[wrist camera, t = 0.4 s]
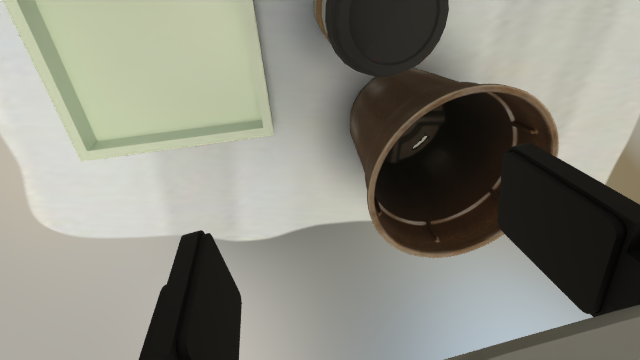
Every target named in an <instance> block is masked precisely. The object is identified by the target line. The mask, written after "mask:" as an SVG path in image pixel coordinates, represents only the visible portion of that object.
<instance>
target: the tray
mask: <svg viewBox="0 0 640 360" xmlns="http://www.w3.org/2000/svg"><path fill="white" fill-rule="evenodd" d="M3 2H4V4H5V6H6V8H7V10H8V12H9V14H10V16H11V18H12V20H13V22H14V24H15V26H16V29H17V31H18V33H19V35H20V37H21V39H22V41H23V43H24V45H25V47H26V49H27V51H28V53H29V55H30V57H31V59H32V62H33V64H34V66H35V68H36V70H37V72H38V74H39V76H40V78H41V80H42V82H43V84H44V86H45V88H46V90H47V92H48V94H49V97H50V99H51V101H52V103H53V105H54V107H55V109H56V111H57V113H58V115H59V117H60V119H61V121H62V123H63V125H64V127H65V129H66V132H67V134H68V136H69V138H70V140H71V142H72V144H73V146H74V148H75V150H76V152H77V154H78V156H79V158H80V160H81V161H87V160H95V159H102V158H110V157H117V156H124V155H132V154H139V153H147V152H154V151H162V150H169V149H176V148H184V147H191V146H199V145H206V144H213V143H221V142H228V141H236V140H243V139H250V138H258V137H265V136H273V135H274V131H273V123H272V117H271V110H270V104H269V98H268V91H267V85H266V79H265V72H264V66H263V60H262V53H261V47H260V41H259V34H258V28H257V22H256V15H255V9H254V3H253V0H3Z"/></svg>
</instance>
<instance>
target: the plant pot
mask: <svg viewBox="0 0 640 360" xmlns="http://www.w3.org/2000/svg"><path fill="white" fill-rule="evenodd" d="M350 132H351V136H352V139H353V141H354V144H355V147H356V149H357V152H358V155H359V158H360V160H361V163H362V166H363V169H364V172H365V180H366V186H367V202H368V209H369V213H370V216H371V219H372V222H373V224H374V226H375V228H376V230H377V231H378V233H379V234H380V235H381V236H382V237H383V238H384V240H386V242H388V243H389V244H390V245H391V246H393V247H395V248H396V249H398V250H400V251H402V252H405V253H407V254H411V255H415V256H420V257H429V258H441V257H451V256H455V255H460V254H463V253H467V252H470V251H473V250H475V249H478V248H480V247H483V246H485V245H487V244H489V243H490V242H492V241H494V240H496V239H497V238H499V237H501V236H502V235H504V233H503V232H502V231H501V229H500V227H499V225H498V208H499V195H500V182H501V170H502V158H503V155H504V154H505V153H507V150H508V148H510V147H513V146H516V145H520V144H524V143H532V144H534V145H536V146H538V147H539V148H541V149H543V150H545V151H546V152H548V153H550V154H552V155H553V156H555V157H557V155H558V144H559V143H558V132H557V128H556V125H555V122H554V120H553V118H552V116H551V114H550V112H549V111H548V110H547V108H546V107H545V106H544V105H543V104H542V103H541V102H540V101H539V100H538V99H537V98H536V97H534V96H533V95H531V94H529V93H528V92H526V91H523V90H521V89H518V88H514V87H510V86H506V85H500V84H477V83H470V82H458V81H454V80H451V79H448V78H445V77H441V76H438V75H435V74H432V73H429V72H425V71H422V70H419V69H416V68H411V69H409V70H407V71H405V72H403V73H400V74H396V75H393V76H389V77H376V78H375V79H373V80H372V81H371V82H370V83H368V84H367V85H366V86H365V88H364V89H363V90H362V91H361V92H360V94H359V95H358V97H357V99H356V100H355V102H354V105H353V108H352V111H351V120H350ZM427 135H428V138H427V139H426V140H425V141H424V142H423V143H422V144H421V145H420V146H419V147H417V148H416V149H414V150H412V148H413V147H414V145H416V144H417V143H418V142H419V141H421V140H422V138H423V137H424V136H427Z"/></svg>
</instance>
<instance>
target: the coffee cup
mask: <svg viewBox="0 0 640 360" xmlns="http://www.w3.org/2000/svg"><path fill="white" fill-rule="evenodd" d="M448 11H449V5H448V0H314V13H315V18H316V20H317V23H318V25H319V27H320V28H321V31H322V32H323V34H324V35H325V36H326V38H327V39H328V40H329V42H330V43H331V45H332V47H333V49H334V51H335V53H336V54H337V55H338V56H339V57H340V58H341V60H342V61H343V62H344V63H345V64H347V65H348V66H350V67H351V68H353V69H354V70H356V71H358V72H361V73H364V74H368V75H371V76H374V77H389V76H393V75H396V74H400V73H403V72H405V71H407V70H409V69H411V68H413V67H414V66H416V65H418V64H419V63H421V62H422V61H423V60H424V59H425V58H426V57H427V56H428V55H429V54H430V53H431V52H432V50H433V49H434V48H435V46H436V45H437V43H438V42H439V40H440V38H441V35H442V33H443V31H444V28H445V26H446V21H447V16H448Z"/></svg>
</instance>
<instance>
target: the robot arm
mask: <svg viewBox="0 0 640 360" xmlns="http://www.w3.org/2000/svg"><path fill="white" fill-rule="evenodd" d="M498 225H499V227H500V229H501V231H502V232H503V233H504V234H505V235H506V236H507V237H508V238H510V240H511V241H512V242H513V243H514V244H515V245H516V246H517V247H518V248H519V249H520V250H521V251H522V252H523V253H524V254H525V255H526V256H527V257H528V258H529V259H530V260H531V261H532V262H533V263H534V264H535V265H536V266H537V267H538V268H539V269H540V270H541V271H542V272H543V273H544V274H545V275H546V276H547V277H548V278H549V279H550V280H551V281H552V282H553V283H554V284H555V285H556V286H557V287H558V288H559V289H560V290H561V291H562V292H563V293H564V294H565V295H566V296H568V298H569V299H570V300H571V301H572V302H573V303H574V304H575V305H576V306H577V307H578V308H579V309H580V310H582V311H583V312H584V313H587V314H591V315H592V316H593V318H589V319H586V320H582V321H578V322H575V323H571V324H568V325H564V326H561V327H558V328H554V329H550V330H547V331H543V332H539V333H536V334H532V335H529V336H525V337H522V338H518V339H515V340H511V341H508V342H504V343H501V344H497V345H494V346H490V347H487V348H483V349H480V350H477V351H473V352H469V353H466V354H462V355H459V356H455V357H452V358H448V359H445V360H640V205H639V204H637V203H636V202H634V201H632V200H631V199H629V198H627V197H625V196H623V195H622V194H620V193H618V192H617V191H615V190H613V189H611V188H610V187H608V186H606V185H604V184H603V183H601V182H599V181H597V180H595V179H594V178H592V177H590V176H588V175H587V174H585V173H583V172H581V171H580V170H578V169H576V168H574V167H573V166H571V165H569V164H567V163H566V162H564V161H562V160H560V159H559V158H557V157H555V156H553V155H552V154H550V153H548V152H546V151H545V150H543V149H541V148H539V147H538V146H536V145H534V144H532V143H524V144H520V145H516V146H513V147H510V148H508V150H507V153H505V154H504V155H503V158H502V170H501V182H500V195H499V208H498ZM241 304H242V302H241V295H240V292H239V290H238V288H237V286H236V284H235V282H234V280H233V278H232V276H231V274H230V272H229V270H228V268H227V266H226V264H225V261H224V259H223V257H222V255H221V253H220V251H219V249H218V247H217V245H216V243H215V241H214V239H213V237H212V235H211V234H210V233H208V234H205V233H204V232H203V231H201V230H200V231H197V232H193V233H189V234H186V235H183V236H182V237H181V240H180V243H179V247H178V250H177V253H176V256H175V259H174V263H173V266H172V269H171V273H170V276H169V279H168V282H167V285H165V286H163V288H162V289H161V291H160V295H159V298H158V301H157V304H156V307H155V310H154V313H153V317H152V319H151V323H150V326H149V329H148V332H147V335H146V338H145V341H144V345H143V348H142V351H141V354H140V358H139V360H239V344H240V343H239V342H240V324H241Z"/></svg>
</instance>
